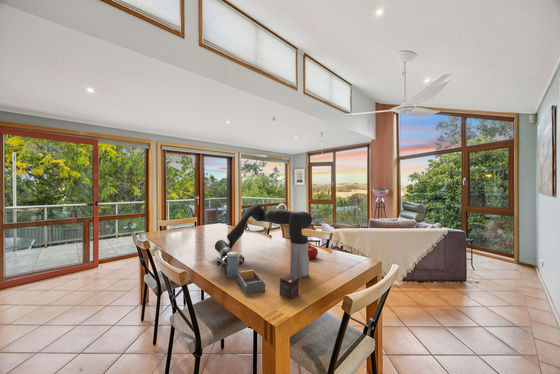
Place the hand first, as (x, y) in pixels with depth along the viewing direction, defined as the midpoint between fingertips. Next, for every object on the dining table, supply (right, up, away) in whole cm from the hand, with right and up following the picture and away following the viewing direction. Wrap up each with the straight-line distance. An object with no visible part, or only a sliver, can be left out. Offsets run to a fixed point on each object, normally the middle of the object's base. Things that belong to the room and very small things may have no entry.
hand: (233, 264), depth 114 cm
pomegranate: (+43, -7, +33) cm, 55 cm away
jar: (-1, -7, +1) cm, 7 cm away
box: (+28, -7, -17) cm, 33 cm away
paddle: (+8, -6, -3) cm, 10 cm away
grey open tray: (+10, -7, -8) cm, 15 cm away
